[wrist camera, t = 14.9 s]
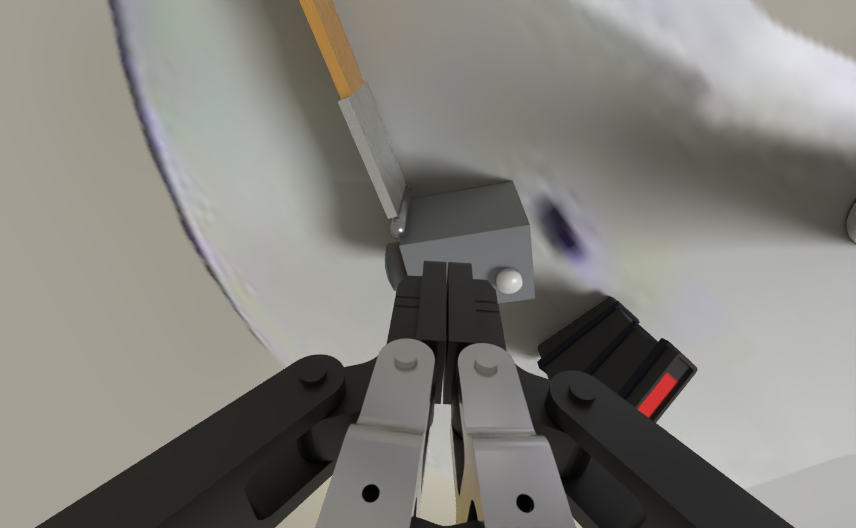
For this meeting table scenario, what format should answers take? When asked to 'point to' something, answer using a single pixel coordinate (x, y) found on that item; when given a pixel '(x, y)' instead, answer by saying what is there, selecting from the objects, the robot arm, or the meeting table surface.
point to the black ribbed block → (620, 358)
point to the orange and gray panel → (360, 113)
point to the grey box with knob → (469, 239)
